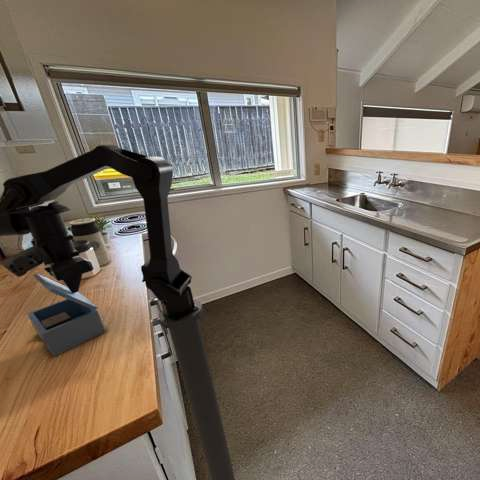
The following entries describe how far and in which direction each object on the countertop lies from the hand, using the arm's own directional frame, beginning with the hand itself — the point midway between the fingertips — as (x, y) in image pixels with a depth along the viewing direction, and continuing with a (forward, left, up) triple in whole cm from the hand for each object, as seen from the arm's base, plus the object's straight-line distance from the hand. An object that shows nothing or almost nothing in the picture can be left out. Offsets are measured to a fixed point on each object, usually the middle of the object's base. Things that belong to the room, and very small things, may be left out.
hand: (75, 292), depth 64 cm
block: (+5, 0, -9) cm, 11 cm away
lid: (+2, 0, +1) cm, 2 cm away
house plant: (-24, -63, -10) cm, 68 cm away
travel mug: (-16, -44, -10) cm, 48 cm away
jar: (-10, -37, -10) cm, 40 cm away
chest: (+4, 0, -10) cm, 11 cm away
